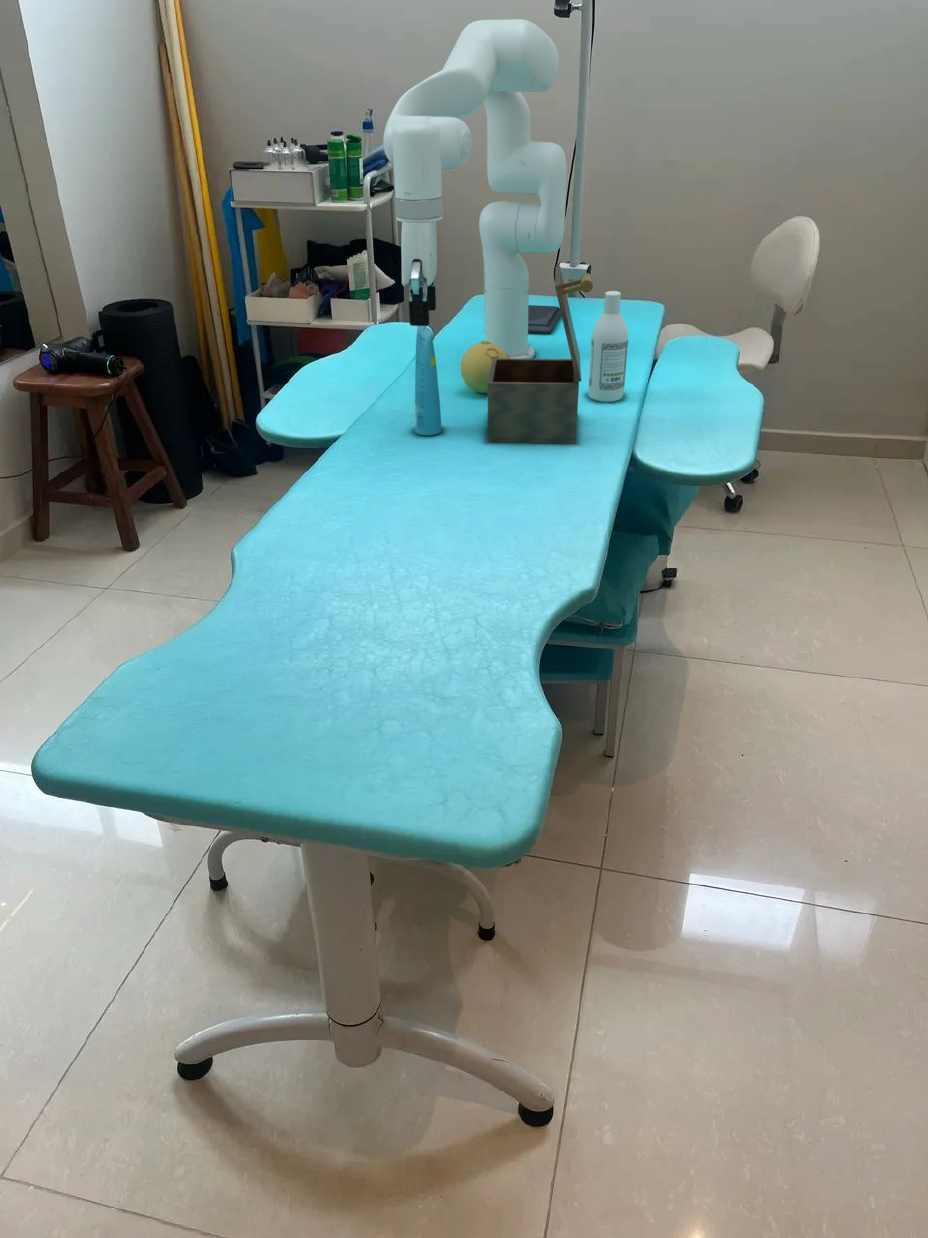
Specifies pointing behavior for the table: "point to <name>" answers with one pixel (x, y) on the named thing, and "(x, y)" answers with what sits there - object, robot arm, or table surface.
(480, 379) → the stress ball
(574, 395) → the chest
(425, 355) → the tube
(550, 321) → the wallet
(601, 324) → the bath foam
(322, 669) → the table surface
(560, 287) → the lid
